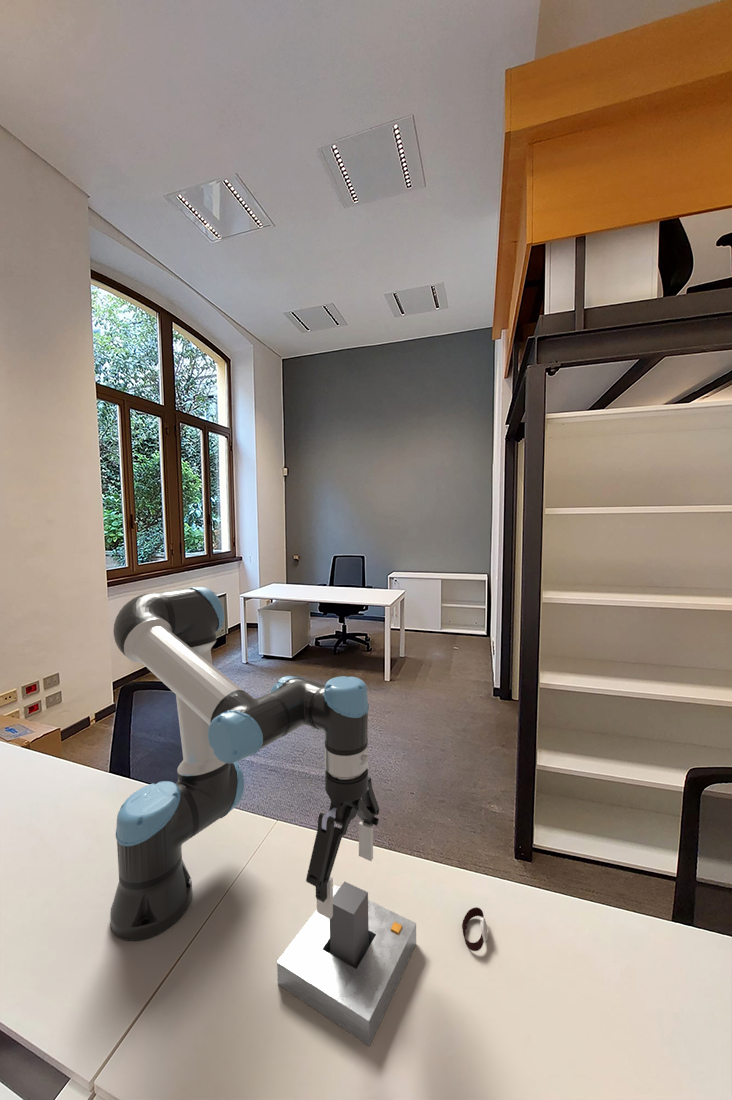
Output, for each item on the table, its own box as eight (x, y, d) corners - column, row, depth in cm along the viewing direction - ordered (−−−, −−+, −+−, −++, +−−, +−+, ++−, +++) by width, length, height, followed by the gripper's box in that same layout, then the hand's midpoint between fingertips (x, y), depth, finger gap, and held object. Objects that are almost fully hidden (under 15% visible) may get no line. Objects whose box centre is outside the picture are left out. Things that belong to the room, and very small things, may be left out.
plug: (330, 966, 75) (329, 902, 74) (345, 942, 79) (344, 881, 79) (354, 981, 73) (353, 914, 72) (369, 955, 77) (367, 892, 76)
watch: (486, 958, 76) (486, 939, 76) (459, 950, 78) (459, 931, 78) (488, 921, 84) (488, 903, 84) (464, 914, 85) (464, 897, 85)
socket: (277, 984, 73) (277, 960, 72) (336, 902, 88) (335, 882, 88) (369, 1046, 64) (368, 1019, 63) (416, 943, 79) (416, 921, 79)
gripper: (322, 818, 61) (323, 955, 63) (396, 741, 83) (396, 845, 84) (282, 801, 65) (284, 931, 66) (363, 732, 87) (363, 831, 88)
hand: (346, 883), depth 75 cm, fingers open, 13 cm apart
